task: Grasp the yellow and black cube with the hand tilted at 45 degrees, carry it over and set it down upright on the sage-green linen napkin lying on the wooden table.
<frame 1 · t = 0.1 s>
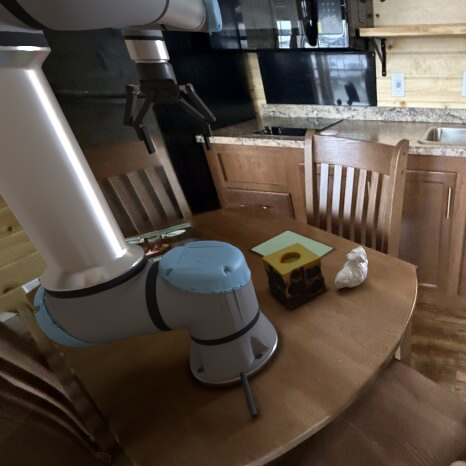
hand: (181, 151, 85), 28 cm above the table, tool pointing down, fingers open, 13 cm apart
napkin: (292, 249, 94), on the table
yellow and black cube: (298, 290, 78), on the table
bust: (354, 282, 81), on the table
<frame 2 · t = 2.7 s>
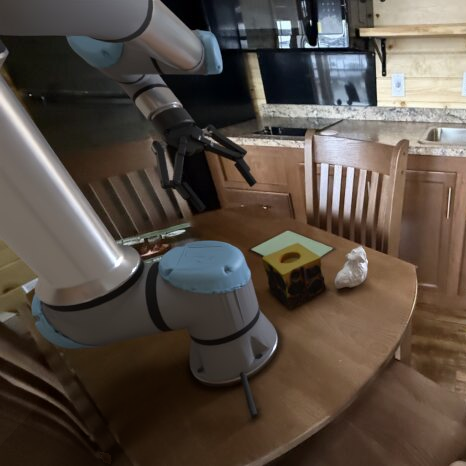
hand: (230, 196, 74), 22 cm above the table, tool tilted 35°, fingers open, 13 cm apart
nothing on the table moved.
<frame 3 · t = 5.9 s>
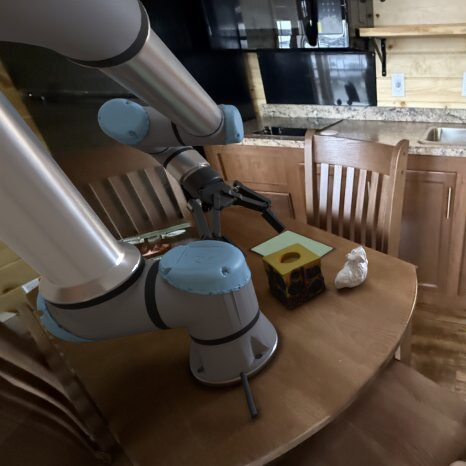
hand: (264, 244, 74), 12 cm above the table, tool tilted 45°, fingers open, 13 cm apart
nothing on the table moved.
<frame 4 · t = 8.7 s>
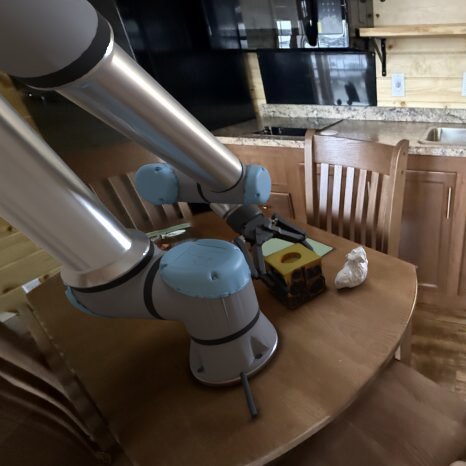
hand: (303, 277, 75), 5 cm above the table, tool tilted 45°, fingers closed on yellow and black cube, 12 cm apart
yellow and black cube: (298, 290, 78), on the table, touching gripper
everything else where it was.
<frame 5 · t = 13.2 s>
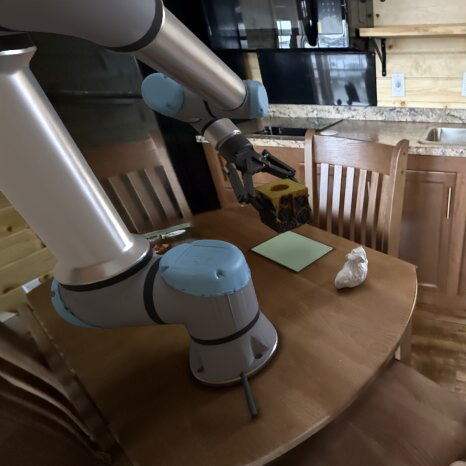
hand: (291, 208, 81), 17 cm above the table, tool tilted 45°, fingers closed on yellow and black cube, 12 cm apart
yellow and black cube: (287, 222, 84), point 12 cm above the table, touching gripper
everything else where it was.
when the fingers open (5 cm above the table, at t = 17.9 s): yellow and black cube stays where it is, resting on napkin.
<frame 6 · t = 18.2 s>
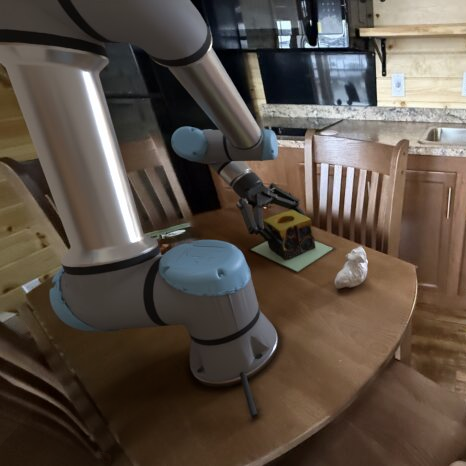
hand: (296, 235, 91), 5 cm above the table, tool tilted 45°, fingers open, 13 cm apart
yellow and black cube: (292, 249, 94), resting on napkin
everything else where it was.
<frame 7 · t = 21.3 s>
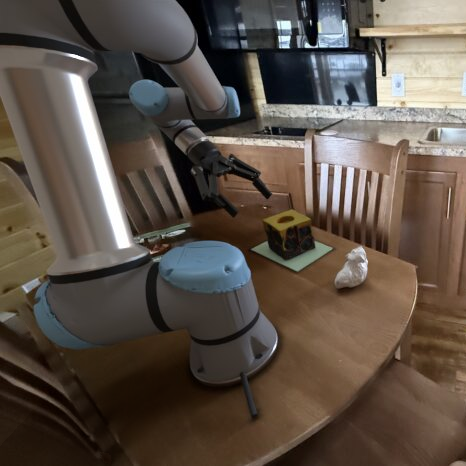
hand: (254, 205, 91), 13 cm above the table, tool tilted 45°, fingers open, 13 cm apart
nothing on the table moved.
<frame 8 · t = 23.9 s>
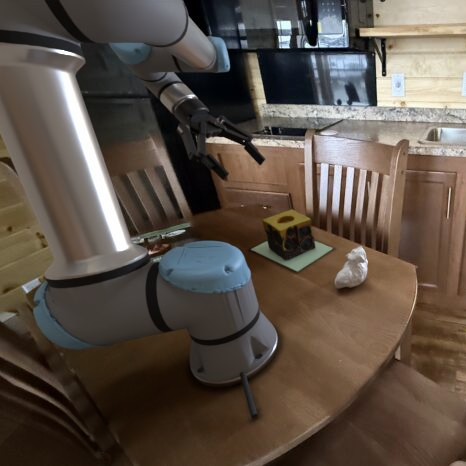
hand: (245, 169, 86), 24 cm above the table, tool tilted 45°, fingers open, 13 cm apart
nothing on the table moved.
at the end: yellow and black cube inside the target area on the napkin (0.1 cm from its centre), point 0.1 cm above the napkin's base; yellow and black cube tilted 0°; the gripper is holding nothing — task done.
